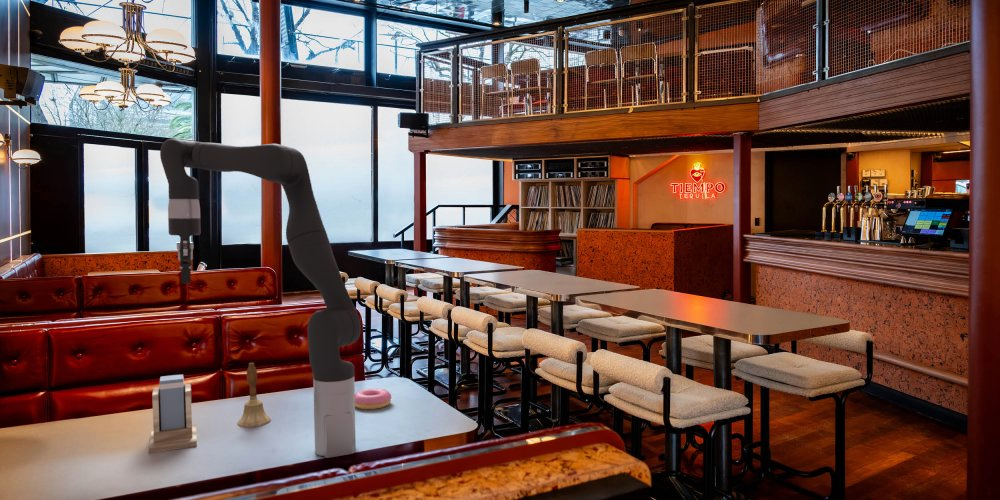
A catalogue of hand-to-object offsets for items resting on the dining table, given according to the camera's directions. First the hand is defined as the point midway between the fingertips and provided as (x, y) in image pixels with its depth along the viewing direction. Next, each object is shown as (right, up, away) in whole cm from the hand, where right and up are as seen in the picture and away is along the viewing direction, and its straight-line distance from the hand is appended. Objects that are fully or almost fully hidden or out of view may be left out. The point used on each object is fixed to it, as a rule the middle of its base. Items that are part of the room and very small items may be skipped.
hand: (186, 282), depth 167 cm
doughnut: (+45, -37, +17) cm, 61 cm away
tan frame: (+3, -38, -11) cm, 40 cm away
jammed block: (+2, -37, -11) cm, 38 cm away
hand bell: (+17, -38, +3) cm, 41 cm away
